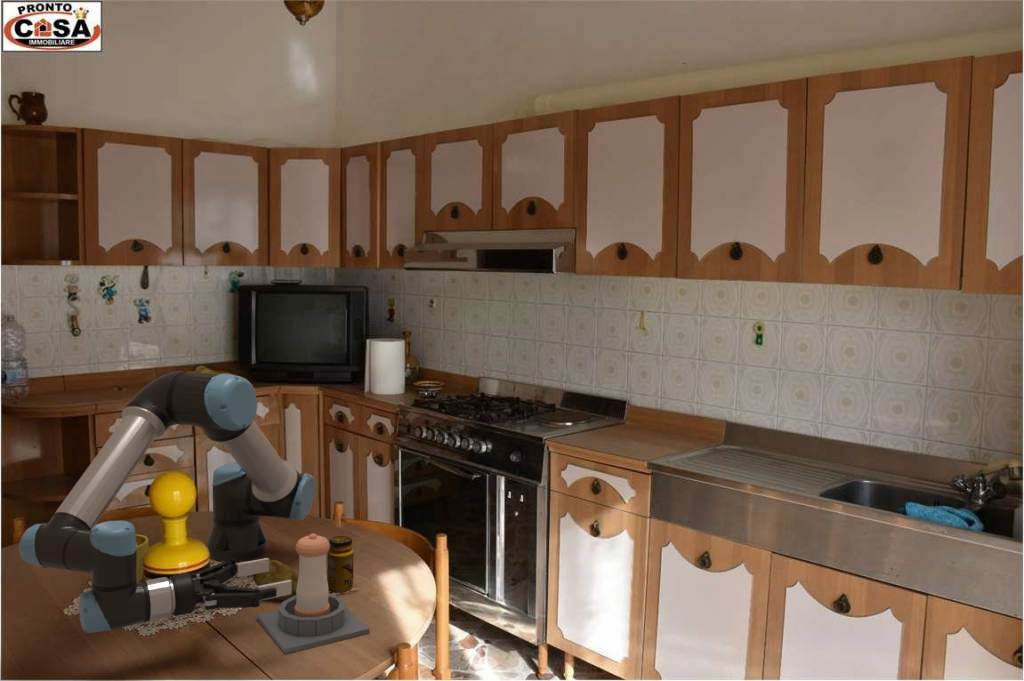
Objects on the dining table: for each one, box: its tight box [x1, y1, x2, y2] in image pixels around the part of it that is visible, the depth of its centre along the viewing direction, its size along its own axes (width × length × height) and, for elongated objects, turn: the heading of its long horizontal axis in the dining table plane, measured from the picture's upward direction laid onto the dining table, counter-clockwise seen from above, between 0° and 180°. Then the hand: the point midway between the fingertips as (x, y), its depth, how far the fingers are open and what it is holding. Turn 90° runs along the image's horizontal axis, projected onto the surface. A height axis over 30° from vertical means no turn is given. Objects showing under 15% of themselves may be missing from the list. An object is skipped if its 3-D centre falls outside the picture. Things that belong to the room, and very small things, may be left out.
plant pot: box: [135, 533, 150, 582], centre depth 200 cm, size 10×10×10 cm
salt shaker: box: [294, 533, 330, 617], centre depth 179 cm, size 7×7×19 cm
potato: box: [252, 559, 299, 601], centre depth 194 cm, size 8×13×8 cm, turn 60°
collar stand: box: [256, 594, 370, 655], centre depth 180 cm, size 18×18×4 cm
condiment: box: [326, 535, 355, 596], centre depth 199 cm, size 7×8×12 cm
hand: (279, 575), depth 175 cm, fingers open, 13 cm apart
